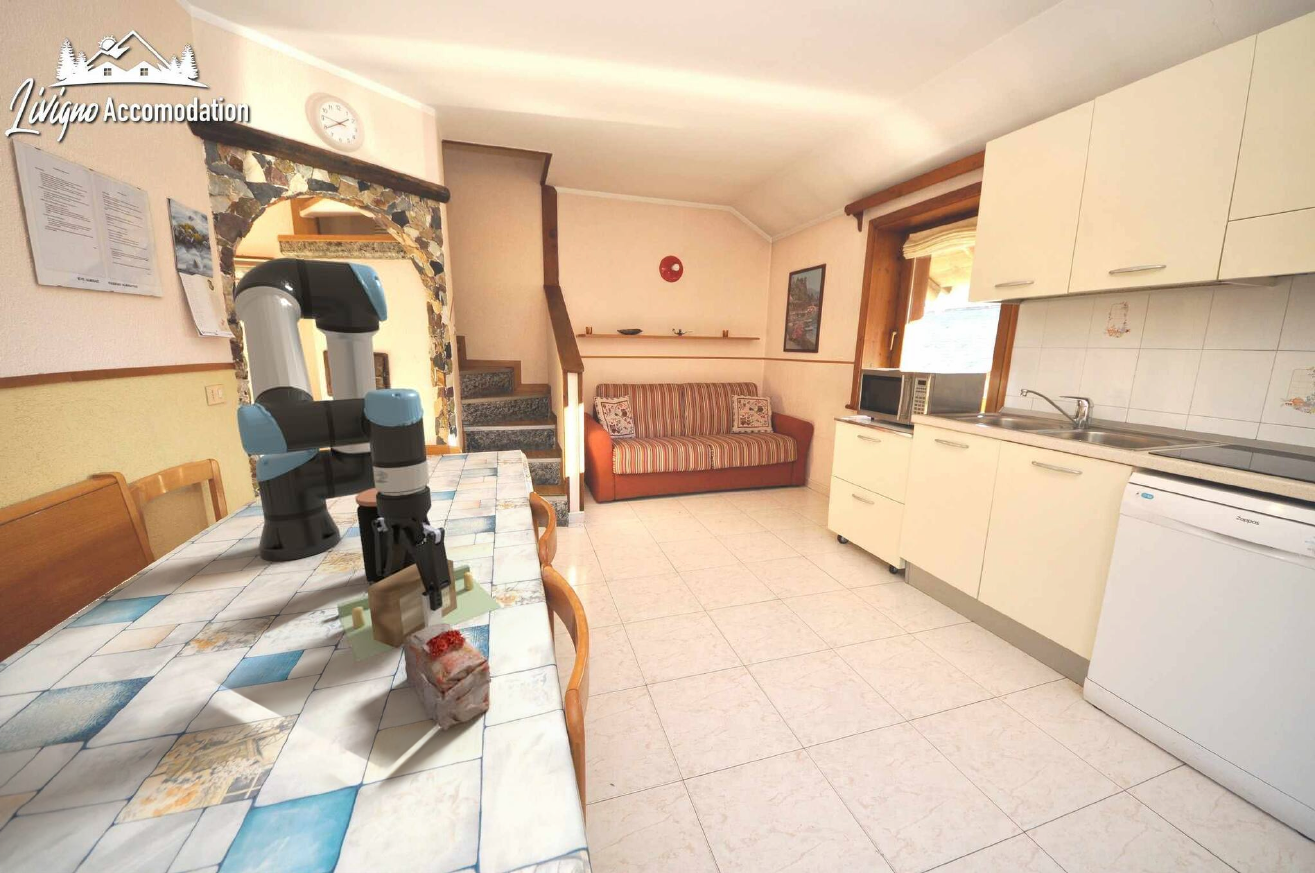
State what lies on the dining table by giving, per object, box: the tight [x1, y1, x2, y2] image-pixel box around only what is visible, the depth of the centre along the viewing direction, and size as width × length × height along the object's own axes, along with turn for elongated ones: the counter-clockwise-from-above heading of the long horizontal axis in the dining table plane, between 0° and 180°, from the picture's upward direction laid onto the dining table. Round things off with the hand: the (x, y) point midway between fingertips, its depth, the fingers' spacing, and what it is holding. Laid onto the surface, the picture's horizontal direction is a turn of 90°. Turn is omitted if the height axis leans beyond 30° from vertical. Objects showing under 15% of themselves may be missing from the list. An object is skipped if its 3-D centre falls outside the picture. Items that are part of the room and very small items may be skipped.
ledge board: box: [336, 564, 502, 663], centre depth 82 cm, size 16×22×4 cm
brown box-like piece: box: [366, 558, 457, 649], centre depth 78 cm, size 5×12×9 cm, turn 157°
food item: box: [403, 623, 492, 732], centre depth 63 cm, size 14×8×10 cm, turn 49°
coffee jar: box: [354, 488, 423, 584], centre depth 95 cm, size 11×11×18 cm
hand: (417, 620), depth 78 cm, fingers open, 7 cm apart
